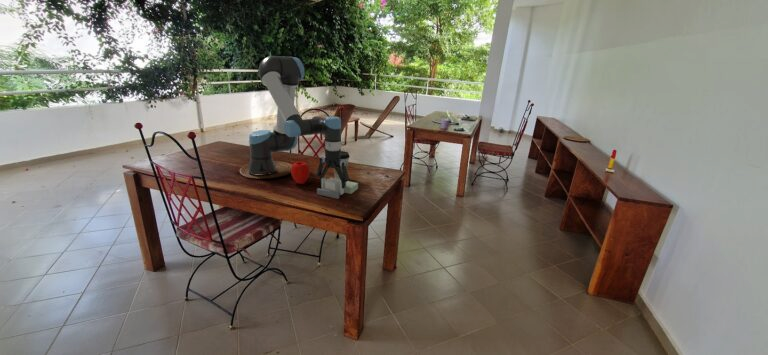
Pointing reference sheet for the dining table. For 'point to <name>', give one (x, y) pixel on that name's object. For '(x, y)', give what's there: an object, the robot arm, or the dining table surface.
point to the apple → (300, 172)
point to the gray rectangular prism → (332, 185)
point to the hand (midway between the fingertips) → (332, 191)
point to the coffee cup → (343, 158)
